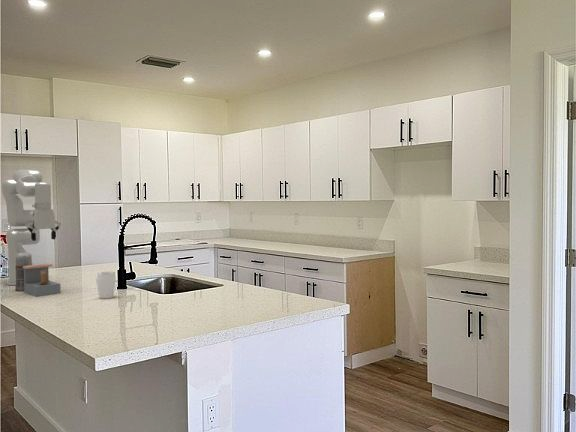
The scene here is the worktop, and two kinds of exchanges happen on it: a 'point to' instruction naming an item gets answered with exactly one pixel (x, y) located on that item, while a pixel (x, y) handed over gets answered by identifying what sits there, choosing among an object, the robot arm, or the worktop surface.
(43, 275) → the peg
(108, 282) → the cup
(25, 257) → the spray can
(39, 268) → the socket block
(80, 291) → the worktop surface
